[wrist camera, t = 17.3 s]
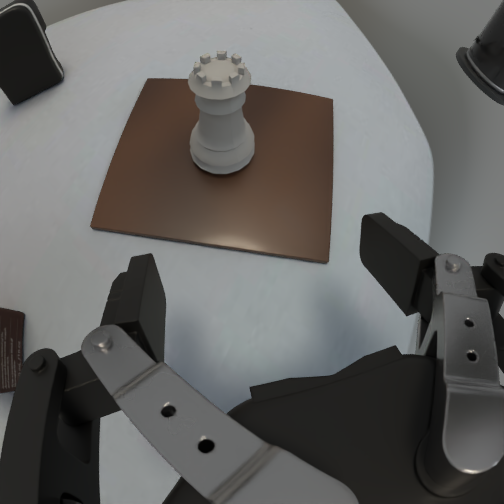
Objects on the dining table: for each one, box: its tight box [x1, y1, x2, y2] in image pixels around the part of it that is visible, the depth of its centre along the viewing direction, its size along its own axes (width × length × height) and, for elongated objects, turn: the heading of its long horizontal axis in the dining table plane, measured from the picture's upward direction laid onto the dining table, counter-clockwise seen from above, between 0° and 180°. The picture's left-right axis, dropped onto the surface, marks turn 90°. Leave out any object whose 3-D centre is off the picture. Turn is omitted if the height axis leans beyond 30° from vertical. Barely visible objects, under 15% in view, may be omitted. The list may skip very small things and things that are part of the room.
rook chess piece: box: [188, 51, 255, 174], centre depth 17 cm, size 4×4×8 cm
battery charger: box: [0, 0, 63, 105], centre depth 17 cm, size 7×4×11 cm, turn 108°
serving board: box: [90, 78, 333, 263], centre depth 21 cm, size 16×14×1 cm
